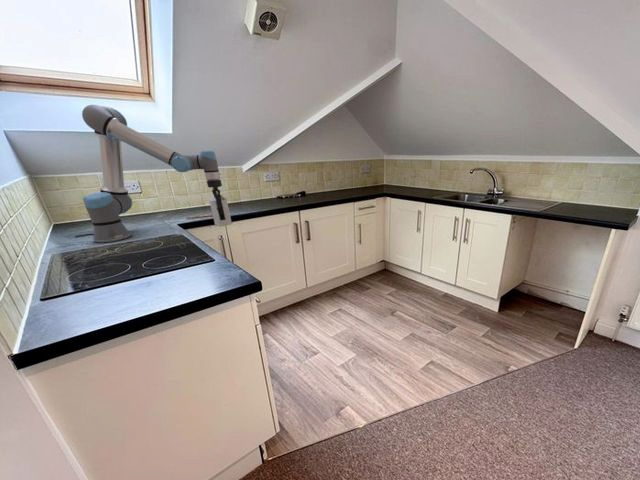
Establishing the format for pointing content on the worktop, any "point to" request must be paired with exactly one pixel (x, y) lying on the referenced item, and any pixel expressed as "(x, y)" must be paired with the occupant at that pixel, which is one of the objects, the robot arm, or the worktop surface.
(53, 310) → the worktop surface
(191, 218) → the wooden spoon
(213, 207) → the milk carton
